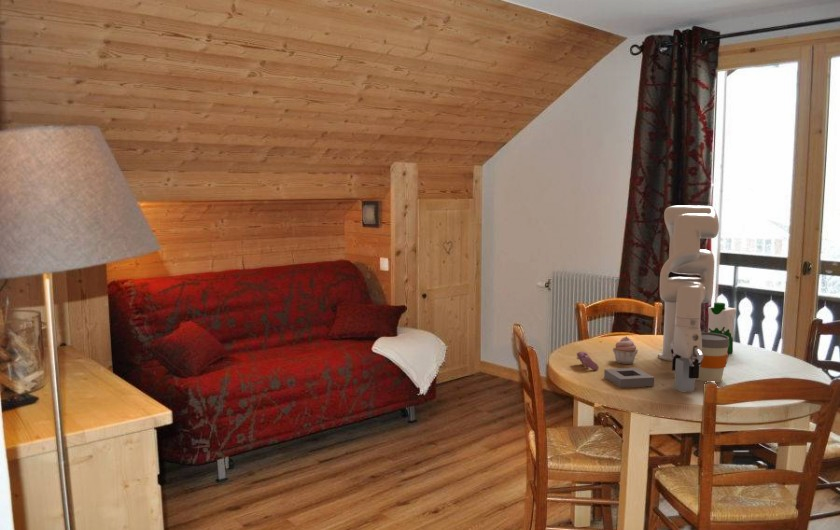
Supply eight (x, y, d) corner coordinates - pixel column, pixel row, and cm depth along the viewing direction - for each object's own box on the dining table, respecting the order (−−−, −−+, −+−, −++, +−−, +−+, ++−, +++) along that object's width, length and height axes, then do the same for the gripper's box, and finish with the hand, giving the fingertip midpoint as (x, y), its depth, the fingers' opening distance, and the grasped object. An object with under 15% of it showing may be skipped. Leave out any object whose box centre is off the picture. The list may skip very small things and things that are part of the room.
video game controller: (580, 367, 256) (572, 351, 254) (591, 362, 256) (583, 345, 255) (589, 375, 246) (581, 358, 245) (600, 369, 246) (592, 352, 245)
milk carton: (703, 351, 275) (705, 302, 272) (716, 348, 280) (719, 300, 277) (723, 355, 267) (726, 305, 265) (736, 352, 272) (739, 303, 270)
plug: (686, 387, 226) (688, 357, 225) (694, 391, 222) (695, 361, 221) (674, 387, 226) (675, 358, 224) (681, 391, 221) (683, 361, 220)
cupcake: (624, 366, 251) (625, 340, 250) (606, 360, 260) (607, 335, 258) (643, 363, 256) (644, 337, 254) (625, 357, 264) (626, 332, 263)
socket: (636, 376, 239) (636, 367, 239) (653, 386, 227) (654, 377, 227) (604, 377, 237) (604, 369, 237) (620, 387, 225) (620, 379, 225)
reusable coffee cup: (708, 385, 228) (710, 341, 226) (680, 375, 240) (682, 333, 238) (735, 381, 233) (738, 338, 231) (706, 372, 245) (709, 331, 243)
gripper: (714, 327, 213) (711, 380, 215) (683, 317, 230) (680, 367, 232) (692, 328, 212) (689, 381, 214) (662, 317, 229) (660, 367, 231)
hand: (685, 374), depth 223 cm, fingers open, 9 cm apart
